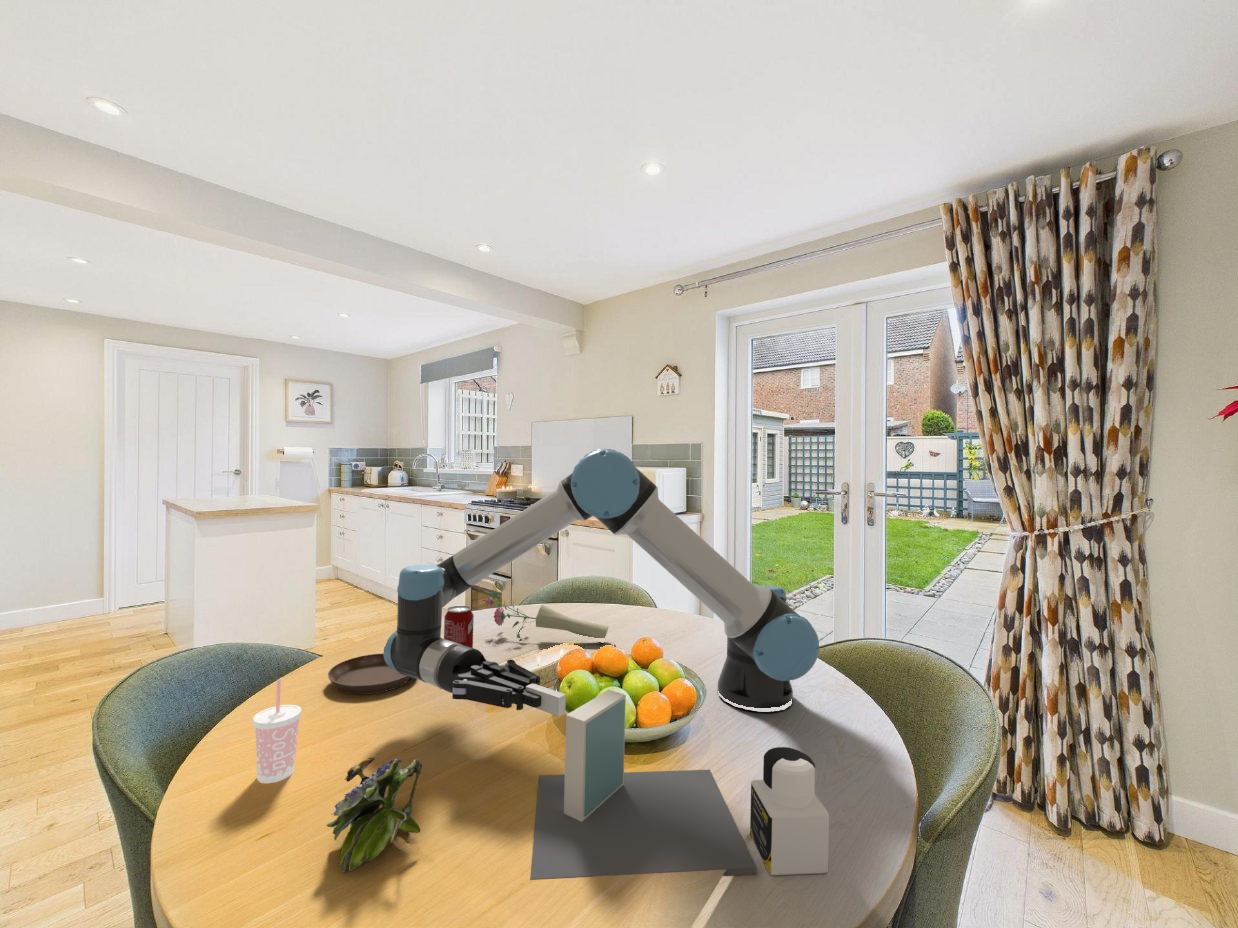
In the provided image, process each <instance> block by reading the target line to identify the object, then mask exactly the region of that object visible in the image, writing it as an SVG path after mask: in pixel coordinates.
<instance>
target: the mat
mask: <svg viewBox="0 0 1238 928" xmlns="http://www.w3.org/2000/svg"><path fill="white" fill-rule="evenodd" d="M564 786H565V773H564V774H543V775H542V774H540V775H538V783H537V795H536V796H537V797H536V805H535V806H536V807H535V819H534V830H533V831H534V832H533V842H532V852H531V853H532V855H531V863H530V864H531V865H530V866H531V867H530V874H529V875H530V876H529V880H530V881H531V880H549V879H566V878H568V879H570V878H586V877H590V878H591V877H605V876H606V877H607V876H624V875H627V876H628V875H641V874H642V875H644V874H645V875H647V874H660V873H662V874H663V873H665V874H666V873H681V872H698V871H699V872H700V871H703V872H704V871H716V870H717V871H718V870H725V871H724V872H723V874H722V877H726V876H727V877H728V876H729V877H730V876H746V875H749V876H750V875H757V870H758V869H757V866H756V863H755V861H754V859H753V857H752V855H751V853H750V850H749V848H748V846H747V845H746V842H745V840H744V838H743V837H742V836H743V835H742V834H741V832H740V830H739V828H738V825H737V823H736V821H735V819H734V817H733V815H732V812H731V811H730V808H729V806H728V805H727V802H726V800H725V798H724V796H723V794H722V792H721V790H720V788H719V786H718V783H717V782H716V779H715V777H714V776H713V773H712V771H711V769H689V770H688V769H687V770H684V769H683V770H682V769H681V770H661V771H659V770H658V771H655V770H654V771H632V772H631V771H630V772H629V771H626V772H625V771H624V785H623V786H621V787H620V788H619V789H618V790H617V791H616V792H615V793H614V794H613V795H611V796H610V797H609V798H608V799H607V800H606V801H605V802H604V803H602V804H601V805H600V806H599V807H598V808H597V809H596V810H595V811H594V812H592V813H591V814H590V815H589V816H588V817H587V818H586V819H585V820H584V821H582V822H581V821H579V820H577V819H575V818H572V817H570V816H568V815H566V814H564Z"/></svg>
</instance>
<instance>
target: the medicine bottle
mask: <svg viewBox="0 0 1238 928" xmlns="http://www.w3.org/2000/svg"><path fill="white" fill-rule="evenodd" d="M762 770H763V771H762V774H763V775H762V779H752V780H751V783H750V813H749V814H750V821H749V822H750V823H749V835H750V837H751V839H752V841H753V844H754V845H755V847H756V850H757V852H758V854H759V856H760V857H761V859H762V862H763V864H764V866H765V869H766V870H767V873H768V874H769V875H770V876H788V875H789V876H791V875H793V876H794V875H812V874H813V875H814V874H815V875H816V874H827V873H828V871H829V843H830V842H829V841H830V838H829V837H830V835H829V833H830V831H829V830H830V814H829V813H830V812H829V811H828V810H827V809H826V808H825V806H824V805H823V803H822V801H820V799H819V798H818V797H817V795H816V794H815V791H816V790H815V789H816V787H815V786H816V765H815V762H814V761H813V759H812V758H811V757H810V756H809V755H808V754H806V753H805V752H803V751H801V750H798V749H795V748H791V747H786V746H777V747H772V748H770V749H768V750H767V751H766V752H765V753H764V755H763V769H762Z"/></svg>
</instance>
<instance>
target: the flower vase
mask: <svg viewBox="0 0 1238 928" xmlns="http://www.w3.org/2000/svg"><path fill="white" fill-rule="evenodd" d="M492 590H493V592H491V593H490V595H489V596H488V597H487V598H486V600H484V601H485V602H484V604H485V606H486V607H487V608H490V607H492V605H493V604H496V605H495V607H496V609H495V611H494V613H493V614H494V615H493V618H494V622H495V623H496V624H495V625H497V626H499V627H501V626H502V625H503V624H504V623H505V622H504V621H505V620H506V618H508V619H510V618H511V617H514V618H515V617H516V618H522V619H523V621H522V622H521V624H523V625H522V626H521V627H520V630H521V631H522V630H523V629H524V628H525V626H524V624H525V623H526V624H527V623H528V624H529V623H530V624H529V625H531V623H533V622H535V627H536V628H544V629H551V630H552V629H553V630H560V631H567V632H569V633H572V634H575V635H578V634H579V635H578V636H580V635H583V636H588V637H594V638H605V636H606V637H607V635H606V634H608V631H609V625H605V624H599V623H593V622H589V621H585V620H581V619H577V618H572V617H569V616H566V615H565V614H562V613H560V612H559V611H556V610H554V609H552V608H550V607H548V606H546V605H544V604H541V605H540V607H539V609H538V612H537V614H536V616H535V617H533V616H532V617H531V616H529V615H526V614H525V613H523V611H522V610H520V611H519V608H518V607H517V608H516V610H515V609H514V608H515V606H514V605H512V608H511V607H510V606H507V605H506V600H504V604H503V603H500V602H496V601H495V602H494V599H498V600H500V598H499V597H498V593H496V592H495V590H494V588H492ZM514 600H515V599H513V601H512V603H514ZM502 606H503V607H504V608H503V607H502ZM504 609H505V610H510V612H511V613H513V614H510V613H506V614H505V610H504ZM529 619H533V621H531V622H529V621H527V620H529ZM519 624H520V622H519V621H518V620H517V621H515V623H514V624H513V625H512V627H511V629H512V628H513V629H514V627H516V626H517V625H519ZM518 630H519V629H518ZM520 630H519V632H520ZM519 632H518V634H519ZM583 636H582V637H583ZM605 639H606V638H605Z"/></svg>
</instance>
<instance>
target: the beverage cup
mask: <svg viewBox="0 0 1238 928" xmlns="http://www.w3.org/2000/svg"><path fill="white" fill-rule="evenodd" d="M281 683H282V682H281V679H280V678H278V679H277V680H276V695H275V696H276V697H275V698H276V700H275V706H273V707H272V706H271V707H268V708H266V709H263V710H261V711H259V712H257V713H256V714H255V715H254V716H253V717H252V725H253V727H254V729H255V730H254V731H255V732H254V733H255V753H256V755H255V757H256V778H257V782H259V783H260V784H271V783H272V784H273V783H278V782H281V781H283V780H285V779H287V778H289V777H290V776H292V775H293V773H294V771H295V763H296V755H297V744H298V733H299V722H300V718H301V716H302V712H303V710H302V707H301V706H299V705H296V704H282V705H281Z"/></svg>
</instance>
